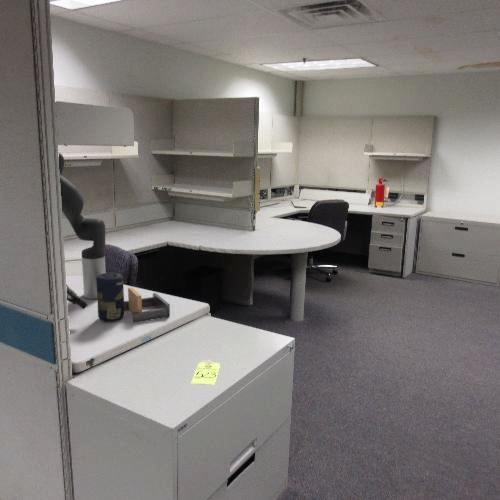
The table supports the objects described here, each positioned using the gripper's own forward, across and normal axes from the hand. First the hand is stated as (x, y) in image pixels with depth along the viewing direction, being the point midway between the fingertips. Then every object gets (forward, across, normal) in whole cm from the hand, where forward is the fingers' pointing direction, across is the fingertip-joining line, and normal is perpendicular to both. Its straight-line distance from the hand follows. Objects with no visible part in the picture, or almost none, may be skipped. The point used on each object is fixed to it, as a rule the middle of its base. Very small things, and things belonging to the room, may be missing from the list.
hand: (85, 306), depth 173 cm
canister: (+11, 0, -2) cm, 11 cm away
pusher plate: (+17, 0, -9) cm, 19 cm away
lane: (+20, 0, -11) cm, 23 cm away
